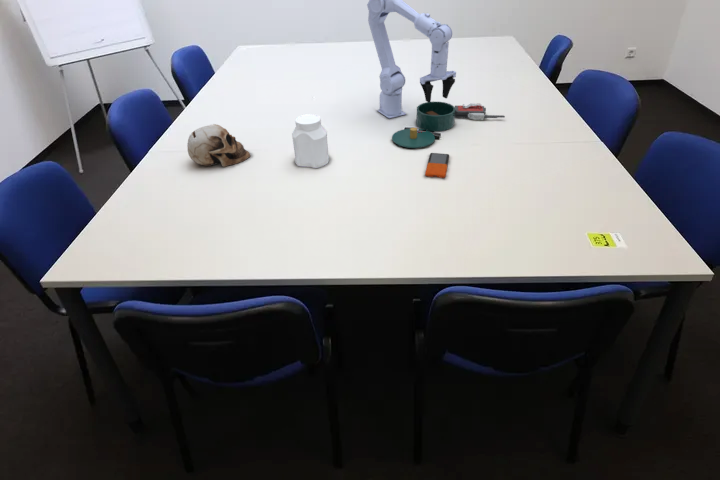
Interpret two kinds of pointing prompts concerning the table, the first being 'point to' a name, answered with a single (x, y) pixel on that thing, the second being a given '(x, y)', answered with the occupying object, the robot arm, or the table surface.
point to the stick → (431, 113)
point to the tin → (435, 116)
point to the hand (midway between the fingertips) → (436, 99)
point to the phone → (437, 165)
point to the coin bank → (215, 147)
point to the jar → (310, 142)
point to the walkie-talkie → (473, 112)
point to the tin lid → (413, 138)
